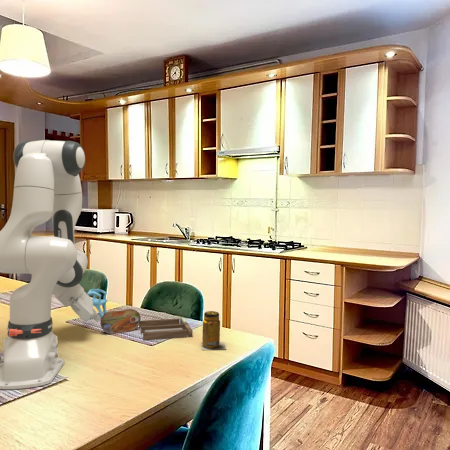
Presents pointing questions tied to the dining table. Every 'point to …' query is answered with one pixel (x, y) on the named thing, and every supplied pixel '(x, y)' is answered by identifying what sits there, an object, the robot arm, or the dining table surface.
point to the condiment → (211, 332)
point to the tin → (120, 321)
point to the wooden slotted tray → (165, 329)
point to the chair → (98, 301)
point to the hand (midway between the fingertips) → (99, 319)
